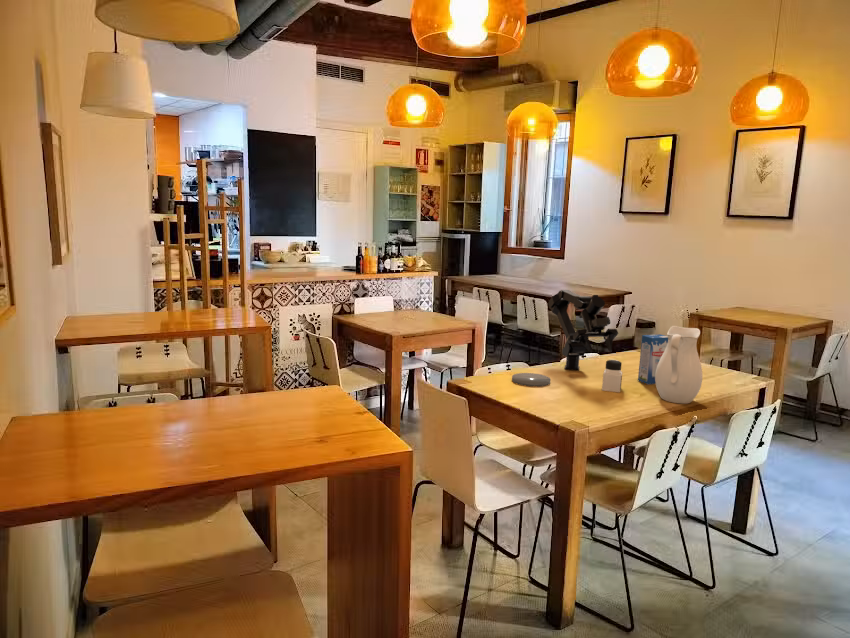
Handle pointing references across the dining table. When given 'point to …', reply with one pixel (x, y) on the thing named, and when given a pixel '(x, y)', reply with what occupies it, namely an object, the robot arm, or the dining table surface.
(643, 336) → the milk carton
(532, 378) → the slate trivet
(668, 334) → the pitcher
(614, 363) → the medicine bottle
